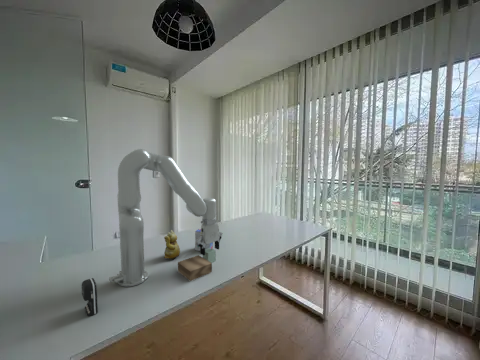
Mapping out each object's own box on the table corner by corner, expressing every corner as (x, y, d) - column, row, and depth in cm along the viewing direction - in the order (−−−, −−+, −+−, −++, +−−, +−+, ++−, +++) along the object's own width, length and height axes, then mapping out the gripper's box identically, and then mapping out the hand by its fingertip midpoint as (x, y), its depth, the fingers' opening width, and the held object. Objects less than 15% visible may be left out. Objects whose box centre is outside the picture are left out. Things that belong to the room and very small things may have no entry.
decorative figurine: (168, 253, 127) (167, 228, 126) (182, 253, 127) (181, 228, 126) (162, 261, 118) (161, 234, 116) (177, 261, 118) (177, 234, 116)
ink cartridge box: (213, 248, 135) (213, 226, 133) (210, 252, 129) (210, 228, 128) (198, 247, 137) (198, 224, 135) (194, 250, 131) (194, 227, 130)
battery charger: (82, 308, 80) (80, 279, 79) (94, 304, 82) (92, 275, 81) (85, 319, 75) (83, 287, 74) (98, 313, 77) (96, 283, 76)
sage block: (208, 264, 115) (208, 253, 114) (202, 261, 118) (202, 250, 118) (215, 261, 119) (215, 250, 118) (209, 258, 122) (209, 247, 121)
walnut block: (190, 281, 99) (190, 271, 98) (177, 271, 107) (177, 262, 107) (211, 272, 107) (211, 263, 106) (198, 264, 116) (198, 255, 115)
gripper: (200, 226, 108) (201, 259, 109) (226, 219, 120) (226, 248, 122) (191, 223, 113) (192, 254, 115) (217, 216, 125) (217, 244, 127)
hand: (210, 251), depth 118 cm, fingers open, 9 cm apart
